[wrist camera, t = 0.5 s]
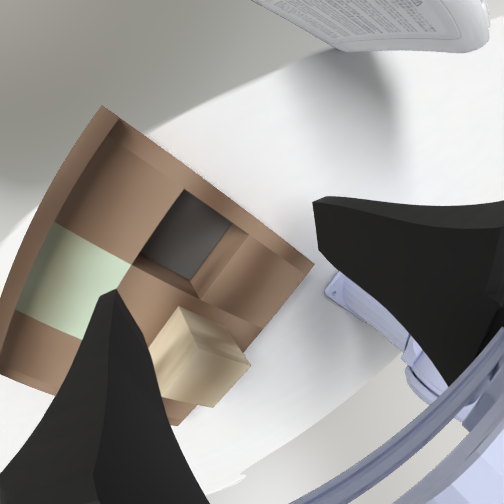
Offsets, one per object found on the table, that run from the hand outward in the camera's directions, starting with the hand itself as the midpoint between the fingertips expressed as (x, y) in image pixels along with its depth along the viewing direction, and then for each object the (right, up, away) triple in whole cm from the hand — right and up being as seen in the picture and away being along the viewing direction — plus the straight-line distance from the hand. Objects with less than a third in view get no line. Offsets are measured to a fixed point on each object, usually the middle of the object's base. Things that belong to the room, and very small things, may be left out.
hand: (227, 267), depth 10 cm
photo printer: (+4, +17, +6) cm, 18 cm away
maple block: (-4, -5, +10) cm, 12 cm away
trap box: (-7, -3, +10) cm, 12 cm away
